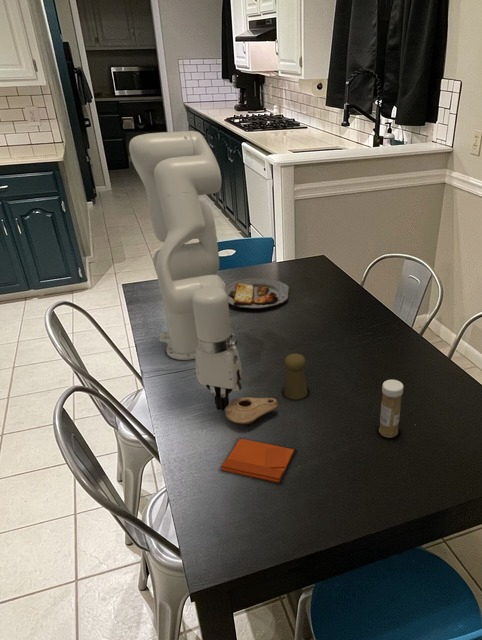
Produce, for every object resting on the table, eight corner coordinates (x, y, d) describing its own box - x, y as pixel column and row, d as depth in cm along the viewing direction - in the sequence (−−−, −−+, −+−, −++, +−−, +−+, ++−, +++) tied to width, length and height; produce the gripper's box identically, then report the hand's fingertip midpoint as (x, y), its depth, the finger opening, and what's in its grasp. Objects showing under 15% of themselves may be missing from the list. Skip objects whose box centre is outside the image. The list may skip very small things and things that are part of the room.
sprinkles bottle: (401, 436, 115) (407, 388, 108) (382, 439, 114) (387, 391, 107) (393, 424, 119) (398, 377, 112) (375, 427, 118) (379, 380, 111)
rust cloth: (221, 470, 106) (221, 466, 106) (240, 440, 114) (239, 436, 114) (279, 483, 103) (279, 479, 103) (294, 451, 111) (294, 447, 111)
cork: (290, 401, 127) (289, 365, 121) (280, 389, 131) (278, 353, 126) (311, 395, 129) (311, 359, 123) (300, 383, 134) (300, 348, 128)
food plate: (287, 313, 170) (286, 303, 168) (218, 313, 170) (217, 303, 168) (289, 284, 191) (289, 275, 189) (229, 284, 191) (228, 275, 189)
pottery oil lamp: (284, 420, 120) (275, 407, 114) (237, 439, 120) (226, 426, 115) (274, 391, 125) (265, 377, 119) (230, 409, 125) (219, 396, 120)
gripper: (252, 338, 114) (256, 403, 123) (193, 329, 118) (202, 393, 127) (238, 355, 108) (244, 422, 117) (177, 344, 112) (187, 410, 121)
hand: (222, 406), depth 122 cm, fingers closed
